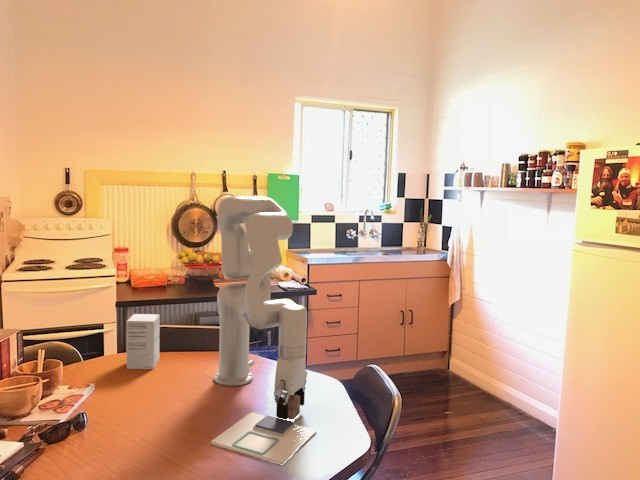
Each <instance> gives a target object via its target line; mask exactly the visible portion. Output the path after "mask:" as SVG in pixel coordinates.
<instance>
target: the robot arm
mask: <svg viewBox="0 0 640 480" xmlns="http://www.w3.org/2000/svg"><path fill="white" fill-rule="evenodd" d="M216 218H217V224H218V227H219V231H220V239H221V245H220V246H221V272H222V275H223V277H224V278H225V279H227V280H245V279H246V282H238V283H229V284H226V285H224V286H222V287H220V289H218V292H217V296H216V297H217V298H216V302H217V307H218V314H219V317H218V318H219V343H218V344H219V346H218V347H219V348H218V353H219V357H218V371H217V372H215V373H214V375H213V381H214V382H215V383H216V384H218V385H221V386H226V387H227V386H228V387H236V386H239V387H240V386H243V385H246V384H248V383H250V382H252V381H253V379H254V375H253V373H252V372H251V371H250V368H251V367H253V366H255V364H256V363H255V361H254V359H249V355H250V352H249V351H250V325H251V326H252V327H253V328H255V329H259V330H262V329H270V328H271V329H272V328H275V327H278V351H277V352H278V358H277V361H276V368H275V374H274V375H275V378H274V391H273V396H274V400H275V404H276V410H275V411H276V415H275V417H276V418H283V419H287V418H288V404H287V401H288V398H289V396H290V395H292V394H294V395H298V396H300V406H304V405H305V394H306V393H305V392H306V383H307V377H308V372H307V371H306V368H307V367H306V358H307V357H306V356H307V334H308V333H307V331H308V330H307V329H308V328H307V327H308V311H307V307H305V306H304V305H303V304H302V305H301V304H297V303H296V302H294V300H292V299H291V298H278V299H271V295H272V294H271V288H272V287H271V286H272V285H271V278H272V277H271V276H272V275H271V272H273V271H275V270H277V269H278V268H279V267H280V266H282V263H283V257H282V253H281V249H280V245H279V241H285V240H288V239H290V238H291V236H292V234H293V230H294V226H293V222H292V219H291V217H290V216H289V214H288V212H286V210H285V209H283V208H282V207H281V206H280V205H279V204H278V203H277V202H276V201H275V200H274V199H272V198H270V197H267V196H248V195H235V196H234V195H233V196H228V197H225V198H223V199H222V200H220V202H219V203H218V207H217V210H216ZM242 224H245V228H244V226H243V225H242ZM244 313H246V314H247V318H248V320H247V319H246V318H245V316H244ZM248 321H249V322H248ZM249 323H250V324H249ZM284 395H285V398H284V399H283V398H282V397H283V396H284Z"/></svg>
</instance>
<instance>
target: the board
mask: <svg viewBox="0 0 640 480" xmlns="http://www.w3.org/2000/svg"><path fill="white" fill-rule="evenodd" d="M296 424H297V423H295V422H294V423H293V422H291V421H287V420H283V419H279V417H277V416H271V415H262V414H260V413H259V414H258V413H256V412H253V411H252V412H250V413H248V414H247V415H245V416H244V417H242V418H241V419H240V420H238V421H237V422H236V423H234V424H233V425H231V427H228V428H227V429H225V430H224V431H223V432H221V433H220V434H219V435H218V436H216V437H215V438H214V439H212V440H211V442H210V444H211V445H212V446H216V447H219V448H222V449H225V448H227V449H226V450H228V451H232V450H233V452H235V451H237V452H236V453H238V452H240V454H242V453H244V454H243V455H245V454H247V455H246V456H248V455H251V456H254V457H253V458H255V457H257V458H256V459H258V458H261V459H265V460H268V461H272V462H276V463H279V464H283V463H284V462H285V461H286V460H287V459H288V458H289V457H290V456H291V455H292V454H293V452H295V450H296V449H297V448H298V447H299V446H300V445H301V444H302V443H303V442H304V441H305V440H306V439H304V438H305V436H306V437H307V438H308V437H309V436H308V435H305V434H306V433H303V434H300V432H301V433H302V432H304V431H306V430H303V431H299V430H300V429H302V428H303V427H302V428H298V429H295V428H297V426H295V425H296ZM299 427H300V426H299ZM293 429H295V430H293ZM297 431H299V432H297ZM301 435H305V436H301ZM297 436H298V437H297ZM300 438H302V440H300ZM294 440H295V441H294ZM300 441H301V442H300ZM251 456H250V457H251ZM261 459H260V460H261ZM268 461H267V462H268Z"/></svg>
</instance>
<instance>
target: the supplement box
mask: <svg viewBox="0 0 640 480" xmlns="http://www.w3.org/2000/svg"><path fill="white" fill-rule="evenodd" d="M160 318H161V317H160V314H159V313H158V314H157V313H156V314H155V313H154V314H153V313H152V314H151V313H134V314H132V315H131V316H130V317H129V319H127V320H126V322H125V324H126V327H125V328H126V370H154V369H155V368H156V366H157V364H158V363H159V361H160V333H161V332H160V331H161V330H160V328H161V327H160V325H161V324H160V323H161V322H160V321H161V320H160Z"/></svg>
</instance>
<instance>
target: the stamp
mask: <svg viewBox="0 0 640 480" xmlns="http://www.w3.org/2000/svg"><path fill="white" fill-rule="evenodd" d="M281 397H282V398H283V399H284V398H285V395H282V396H281ZM287 404H288V418H289V419H294V418H295V417H296V416H297V415H298V414H299V413H300V409H301V408H300V407H301V405H300V396H298V395H294V393H293V394H292V395H290V396H289V398H288V401H287ZM300 414H301V413H300Z"/></svg>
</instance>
